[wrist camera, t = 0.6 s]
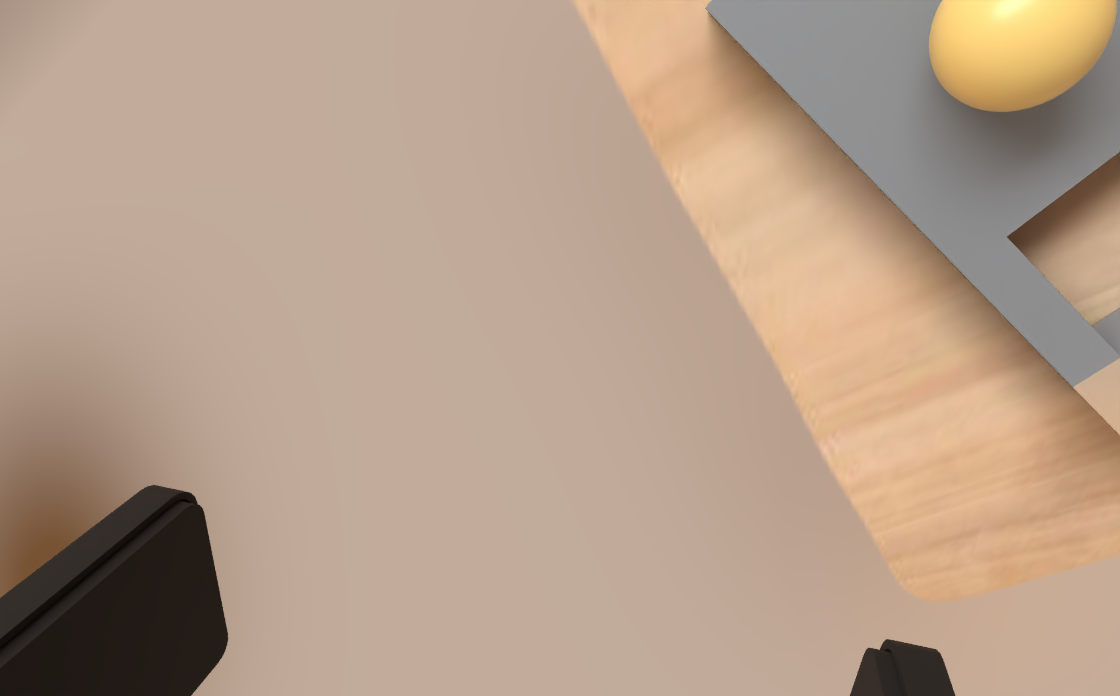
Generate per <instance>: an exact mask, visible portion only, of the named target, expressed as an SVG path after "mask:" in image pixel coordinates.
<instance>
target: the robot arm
mask: <svg viewBox="0 0 1120 696" xmlns="http://www.w3.org/2000/svg"><path fill="white" fill-rule="evenodd" d="M227 642H228V632H227V627H226V622H225V618H224V612H223V607H222V602H221V597H220V591H219V587H218V581H217V576H216V571H215V566H214V561H213V556H212V551H211V546H210V540H209V535H208V530H207V525H206V520H205V515H204V511H203V509H202V507H201V506H200V505H198V504H197V501H196V498H195V497H194V495H192V494H191V493H189V492H184V491H180V490H176V489H171V488H166V487H161V486H156V485H152V486H148V487H146V488H144V489H142V490H141V491H139V492H138V493H137V494H135V495H134V496H133V497H132V498H130V499H129V500H128V501H126V502H125V503H124V504H122V505H121V506H120V507H118V508H117V509H116V510H115V511H113V512H112V513H111V514H109V515H108V516H107V517H105V518H104V519H103V520H101V521H100V522H99V523H98V524H96V525H95V526H94V527H92V528H91V529H90V530H88V531H87V532H86V533H85V534H83V535H82V536H81V537H79V538H78V539H77V540H75V541H74V542H73V543H71V544H70V545H69V546H68V547H66V548H65V549H64V550H62V551H61V552H60V553H58V554H57V555H56V556H55V557H53V558H52V559H51V560H49V561H48V562H47V563H45V564H44V565H43V566H41V567H40V568H39V569H37V570H36V571H35V572H34V573H32V574H31V575H30V576H28V577H27V578H26V579H25V580H23V581H22V582H21V583H19V584H18V585H17V586H15V587H14V588H13V589H11V590H10V591H9V592H7V593H6V594H5V595H4V596H2V597H1V598H0V696H191V695H192V694H193V693H194V691H195V690H196V689H197V688H198V687H199V685H200V684H201V683H202V682H203V681H204V679H205V678H206V677H207V676H208V674H209V673H210V672H211V671H212V670H213V668H214V667H215V666H216V665H217V663H218V662H219V661H220V659H221V658H222V656H223V654H224V652H225V649H226V646H227ZM850 696H955V693H954V691H953V688H952V684H951V682H950V678H949V676H948V673H947V670H946V667H945V664H944V661H943V659H942V656H941V654H940V653H939V652H938V651H937V650H936V649H932V648H927V647H923V646H918V645H913V644H908V643H904V642H899V641H894V640H888V639H887V640H885V641H884V642H883V644H882V646H881V648H880V650H878V649H873V648H868V649H867V650H866V651H865V653H864V656H863V659H862V662H861V665H860V668H859V671H858V674H857V676H856V679H855V682H854V685H853V688H852V691H851V694H850Z"/></svg>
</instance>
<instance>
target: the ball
mask: <svg viewBox="0 0 1120 696" xmlns="http://www.w3.org/2000/svg"><path fill="white" fill-rule="evenodd" d="M1116 13H1117V0H942V1H941V3H940V4H939V7H938V9H937V11H936V13H935V16H934V19H933V22H932V25H931V30H930V35H929V56H930V61H931V65H932V68H933V70H934V73H935V75H936V77H937V79H938V81H939V82H940V84H941V85H942V86H943V88H944V89H945V90H946V91H947V92H948V93H949V94H950V95H951V96H953V97H954V98H956V99H957V100H959V101H960V102H962V103H964V104H966V105H968V106H970V107H973V108H976V109H980V110H985V111H992V112H1010V111H1018V110H1023V109H1028V108H1031V107H1034V106H1037V105H1040V104H1043V103H1045V102H1047V101H1049V100H1052V99H1054V98H1055V97H1057V96H1059V95H1061V94H1062V93H1064V92H1065V91H1067V90H1068V89H1069V88H1071V87H1072V86H1074V85H1075V84H1076V83H1077V82H1078V81H1079V80H1080V79H1082V78H1083V77H1084V76H1085V75H1086V74H1087V73H1088V72H1089V71H1090V69H1091V68H1092V67H1093V66H1094V65H1095V63H1096V62H1097V61H1098V59H1099V58H1100V57H1101V55H1102V53H1103V51H1104V50H1105V48H1106V46H1107V44H1108V42H1109V40H1110V37H1111V35H1112V32H1113V28H1114V25H1115V20H1116Z"/></svg>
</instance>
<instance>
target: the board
mask: <svg viewBox="0 0 1120 696" xmlns="http://www.w3.org/2000/svg"><path fill="white" fill-rule="evenodd" d="M941 1H942V0H712V1H711V2H710V3H709V4H708V5H707V7H706V8H705V9H706V10H707V11H708V12H709V13H710V14H711V15H712V16H713V17H714V18H715V19H716V20H717V21H718V22H719V23H720V24H721V25H722V26H723V28H724V29H725V30H726V31H727V32H728V33H729V34H730V35H731V36H732V37H733V38H734V39H735V40H736V41H737V42H738V43H739V44H740V45H741V46H742V47H743V48H744V49H745V50H746V51H747V52H748V53H749V54H750V55H751V56H752V57H753V58H754V59H755V61H756V62H757V63H758V64H759V65H760V66H761V67H762V68H763V69H764V70H765V71H766V72H767V73H768V74H769V75H770V76H771V77H772V78H773V79H774V80H775V81H776V82H777V83H778V84H779V85H780V86H781V87H782V88H783V89H784V90H785V91H786V92H787V94H788V95H789V96H790V97H791V98H792V99H793V100H794V101H795V102H796V103H797V104H798V105H799V106H800V107H801V108H802V109H803V110H804V111H805V112H806V113H807V114H808V115H809V116H810V117H811V118H812V119H813V120H814V121H815V122H816V123H817V124H818V125H819V126H820V128H821V129H822V130H823V131H824V132H825V133H826V134H827V135H828V136H829V137H830V138H831V139H832V140H833V141H834V142H835V143H836V144H837V145H838V146H839V147H840V148H841V149H842V150H843V151H844V152H845V153H846V154H847V155H848V156H849V157H850V158H851V159H852V161H853V162H854V163H855V164H856V165H857V166H858V167H859V168H860V169H861V170H862V171H863V172H864V173H865V174H866V175H867V176H868V177H869V178H870V179H871V180H872V181H873V182H874V183H875V184H876V185H877V186H878V187H879V188H880V189H881V190H882V191H883V192H884V193H885V195H886V196H887V197H888V198H889V199H890V200H891V201H892V202H893V203H894V204H895V205H896V206H897V207H898V208H899V209H900V210H901V211H902V212H903V213H904V214H905V215H906V216H907V217H908V218H909V219H910V220H911V221H912V222H913V223H914V224H915V225H916V226H917V228H918V229H919V230H920V231H921V232H922V233H923V234H924V235H925V236H926V237H927V238H928V239H929V240H930V241H931V242H932V243H933V244H934V245H935V246H936V247H937V248H938V249H939V250H940V251H941V252H942V253H943V254H944V255H945V256H946V257H947V258H948V259H949V261H950V262H951V263H952V264H953V265H954V266H955V267H956V268H957V269H958V270H959V271H960V272H961V273H962V274H963V275H964V276H965V277H966V278H967V279H968V280H969V281H970V282H971V283H972V284H973V285H974V286H975V287H976V288H977V289H978V290H979V291H980V292H981V293H982V295H983V296H984V297H985V298H986V299H987V300H988V301H989V302H990V303H991V304H992V305H993V306H994V307H995V308H996V309H997V310H998V311H999V312H1000V313H1001V314H1002V315H1003V316H1004V317H1005V318H1006V319H1007V320H1008V321H1009V322H1010V323H1011V324H1012V325H1013V326H1014V328H1015V329H1016V330H1017V331H1018V332H1019V333H1020V334H1021V335H1022V336H1023V337H1024V338H1025V339H1026V340H1027V341H1028V342H1029V343H1030V344H1031V345H1032V346H1033V347H1034V348H1035V349H1036V350H1037V351H1038V352H1039V353H1040V354H1041V355H1042V356H1043V357H1044V358H1045V359H1046V361H1047V362H1048V363H1049V364H1050V365H1051V366H1052V367H1053V368H1054V369H1055V370H1056V371H1057V372H1058V373H1059V374H1060V375H1061V376H1062V377H1063V378H1064V379H1065V380H1066V381H1067V382H1068V383H1069V384H1070V385H1071V386H1072V387H1073V388H1074V389H1075V390H1076V391H1077V392H1078V393H1079V395H1080V396H1081V397H1082V398H1083V399H1084V400H1085V401H1086V402H1087V403H1088V404H1089V405H1090V406H1091V407H1092V408H1093V409H1094V410H1095V411H1096V412H1097V413H1098V414H1099V415H1100V416H1101V417H1102V418H1103V419H1104V420H1105V421H1106V422H1107V423H1108V424H1109V425H1110V426H1111V427H1112V428H1113V429H1114V430H1115V431H1116V432H1117V433H1118V434H1119V435H1120V308H1119V309H1117V310H1116V311H1114V312H1113V313H1111V314H1110V315H1108V316H1107V317H1105V318H1104V319H1102V320H1101V321H1099V322H1097V323H1096V324H1094V325H1093V326H1091V325H1090V324H1089V323H1088V322H1087V321H1086V320H1085V319H1084V318H1083V317H1082V316H1081V314H1080V313H1079V312H1078V311H1077V310H1076V309H1075V308H1074V307H1073V306H1072V305H1071V304H1070V303H1069V302H1068V301H1067V300H1066V299H1065V298H1064V297H1063V296H1062V295H1061V293H1060V292H1059V291H1058V290H1057V289H1056V288H1055V287H1054V286H1053V285H1052V284H1051V283H1050V282H1049V281H1048V280H1047V279H1046V278H1045V277H1044V276H1043V275H1042V273H1041V272H1040V271H1039V270H1038V269H1037V268H1036V267H1035V266H1034V265H1033V264H1032V263H1031V262H1030V261H1029V260H1028V259H1027V258H1026V257H1025V256H1024V255H1023V253H1022V252H1021V251H1020V250H1019V249H1018V248H1017V247H1016V246H1015V245H1014V244H1013V243H1012V242H1011V241H1010V240H1009V239H1008V238H1007V236H1008V235H1010V234H1011V233H1012V232H1014V231H1015V230H1016V229H1018V228H1019V227H1020V226H1022V225H1023V224H1024V223H1026V222H1027V221H1028V220H1030V219H1031V218H1032V217H1034V216H1035V215H1036V214H1038V213H1039V212H1040V211H1042V210H1043V209H1044V208H1046V207H1047V206H1048V205H1050V204H1051V203H1052V202H1054V201H1055V200H1056V199H1058V198H1059V197H1060V196H1062V195H1063V194H1064V193H1066V192H1067V191H1068V190H1070V189H1071V188H1072V187H1074V186H1075V185H1076V184H1078V183H1079V182H1080V181H1082V180H1083V179H1084V178H1086V177H1087V176H1088V175H1090V174H1091V173H1092V172H1094V171H1095V170H1096V169H1098V168H1099V167H1100V166H1101V165H1103V164H1104V163H1105V162H1107V161H1108V160H1109V159H1111V158H1112V157H1113V156H1115V155H1116V154H1117V153H1119V152H1120V0H1117V13H1116V20H1115V25H1114V28H1113V32H1112V35H1111V37H1110V40H1109V42H1108V44H1107V46H1106V48H1105V50H1104V51H1103V53H1102V55H1101V57H1100V58H1099V59H1098V61H1097V62H1096V63H1095V65H1094V66H1093V67H1092V68H1091V69H1090V71H1089V72H1088V73H1087V74H1086V75H1085V76H1084V77H1083V78H1082V79H1080V80H1079V81H1078V82H1077V83H1076V84H1075V85H1074V86H1072V87H1071V88H1069V89H1068V90H1067V91H1065V92H1064V93H1062V94H1061V95H1059V96H1057V97H1055V98H1054V99H1052V100H1049V101H1047V102H1045V103H1043V104H1040V105H1037V106H1034V107H1031V108H1028V109H1023V110H1018V111H1010V112H992V111H985V110H980V109H976V108H973V107H970V106H968V105H966V104H964V103H962V102H960V101H959V100H957V99H956V98H954V97H953V96H951V95H950V94H949V93H948V92H947V91H946V90H945V89H944V88H943V86H942V85H941V84H940V82H939V81H938V79H937V77H936V75H935V73H934V70H933V68H932V65H931V61H930V56H929V35H930V30H931V25H932V22H933V19H934V16H935V13H936V11H937V9H938V7H939V4H940V3H941Z"/></svg>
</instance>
